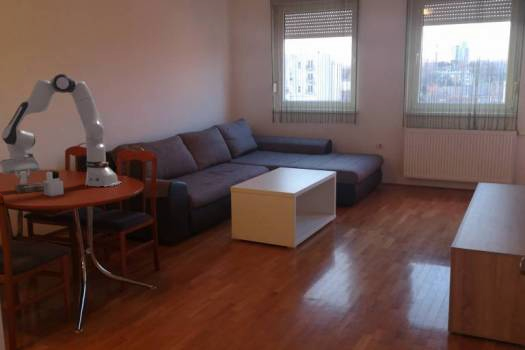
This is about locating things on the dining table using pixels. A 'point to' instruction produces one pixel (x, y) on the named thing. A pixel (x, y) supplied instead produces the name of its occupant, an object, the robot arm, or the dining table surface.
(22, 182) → the fader
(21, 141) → the robot arm
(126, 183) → the dining table surface
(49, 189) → the container
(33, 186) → the mixing board
